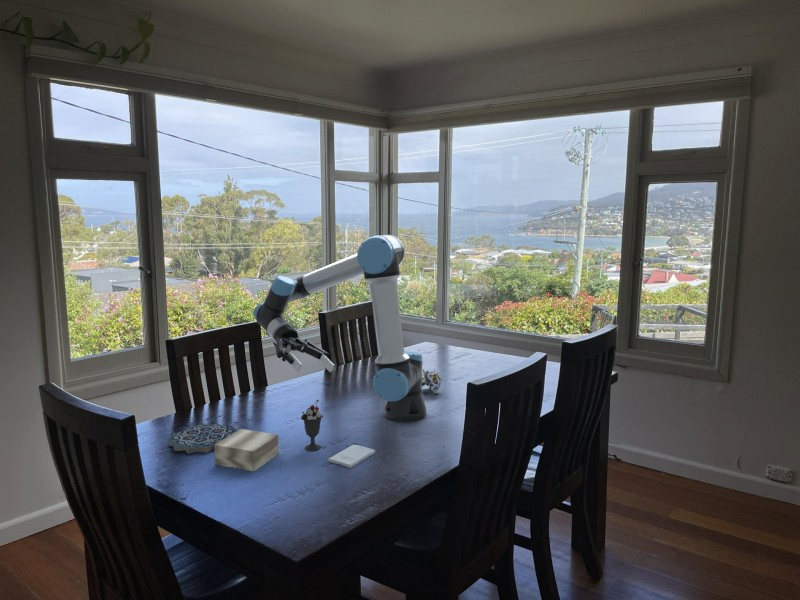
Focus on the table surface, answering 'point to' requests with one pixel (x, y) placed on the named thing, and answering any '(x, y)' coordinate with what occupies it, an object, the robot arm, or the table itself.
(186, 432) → the decorative tile
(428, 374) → the passion flower
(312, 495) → the table surface
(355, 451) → the external hard drive
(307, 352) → the robot arm
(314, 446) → the sundae
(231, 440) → the block
